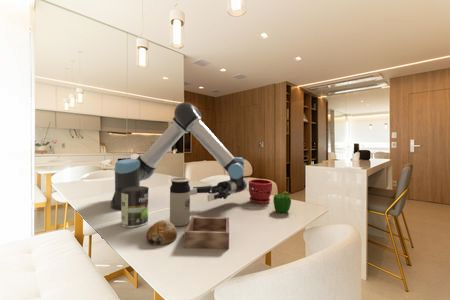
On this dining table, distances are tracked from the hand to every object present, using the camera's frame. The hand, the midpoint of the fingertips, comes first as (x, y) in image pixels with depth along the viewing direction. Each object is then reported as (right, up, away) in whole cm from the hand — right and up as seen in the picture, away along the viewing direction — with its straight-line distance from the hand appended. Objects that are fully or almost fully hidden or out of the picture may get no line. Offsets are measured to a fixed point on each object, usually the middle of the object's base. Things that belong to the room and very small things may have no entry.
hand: (196, 195), depth 97 cm
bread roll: (-9, -10, -22) cm, 26 cm away
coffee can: (-24, -10, -8) cm, 27 cm away
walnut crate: (+7, -10, -21) cm, 25 cm away
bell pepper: (+40, -10, +10) cm, 43 cm away
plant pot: (+32, -9, +27) cm, 43 cm away
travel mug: (-6, -10, -7) cm, 14 cm away
